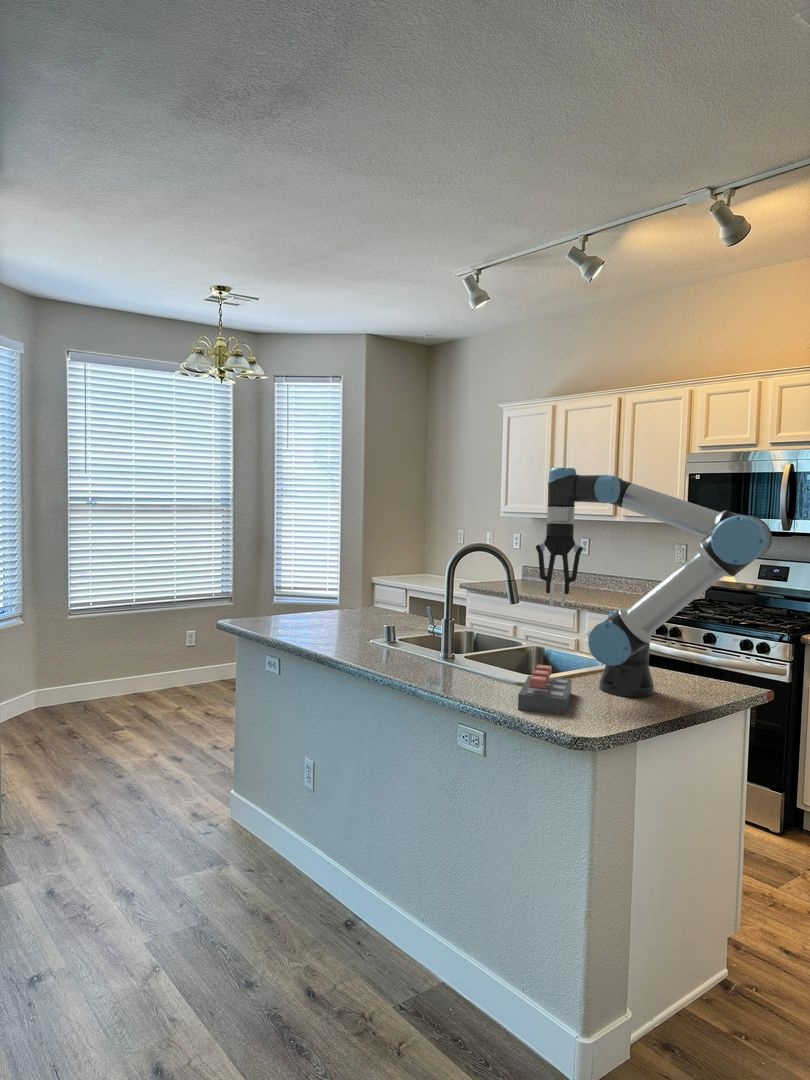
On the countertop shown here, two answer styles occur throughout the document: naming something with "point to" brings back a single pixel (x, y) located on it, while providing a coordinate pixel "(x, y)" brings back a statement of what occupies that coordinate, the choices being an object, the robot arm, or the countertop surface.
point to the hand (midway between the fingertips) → (557, 605)
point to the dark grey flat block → (546, 696)
